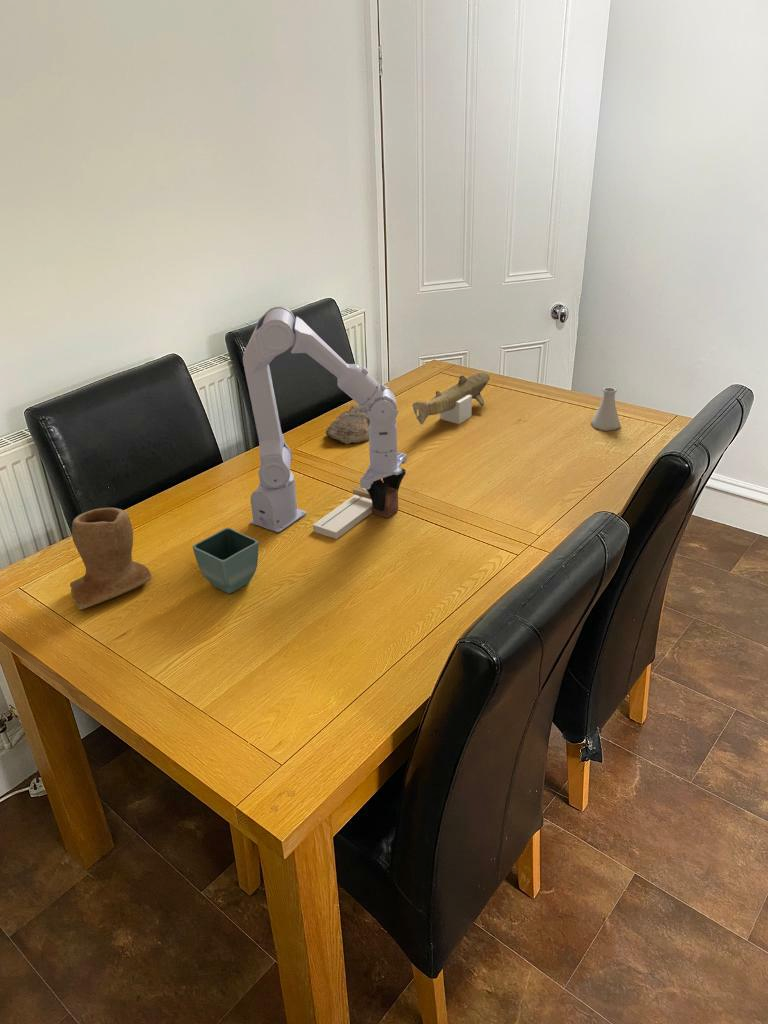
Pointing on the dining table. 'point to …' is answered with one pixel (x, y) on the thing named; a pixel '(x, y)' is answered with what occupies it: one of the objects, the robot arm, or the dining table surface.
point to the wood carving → (454, 400)
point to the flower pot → (227, 559)
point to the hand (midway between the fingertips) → (385, 504)
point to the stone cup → (105, 557)
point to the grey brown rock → (351, 426)
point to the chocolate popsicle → (390, 501)
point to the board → (344, 517)
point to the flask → (607, 412)
